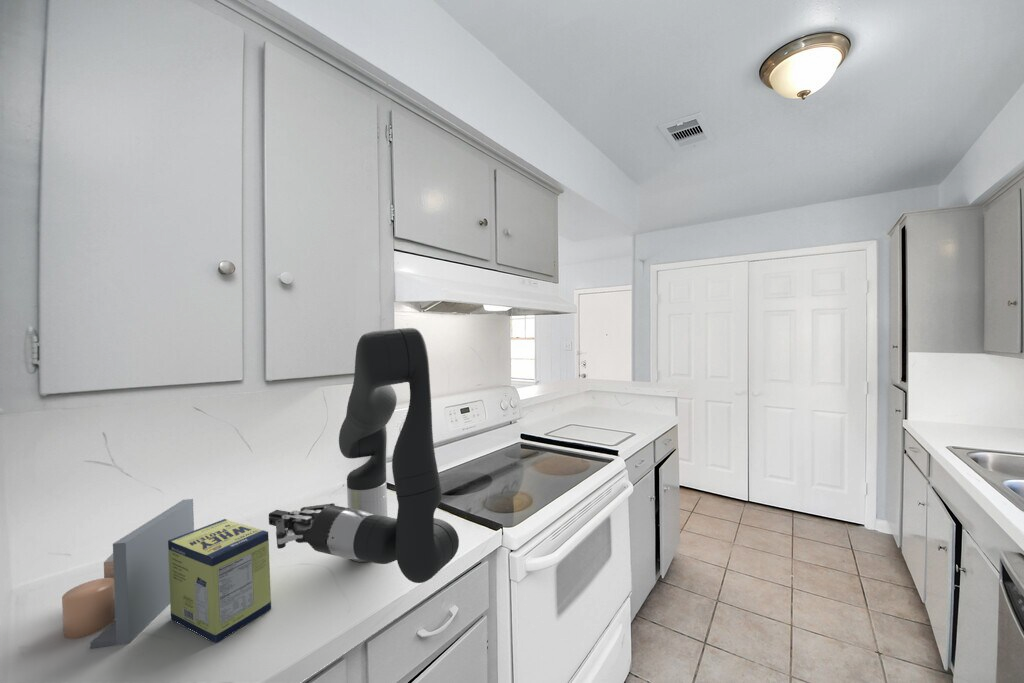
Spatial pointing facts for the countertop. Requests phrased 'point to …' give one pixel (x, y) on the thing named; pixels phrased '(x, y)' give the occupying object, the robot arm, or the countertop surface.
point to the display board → (144, 573)
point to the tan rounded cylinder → (88, 608)
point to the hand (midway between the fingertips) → (272, 516)
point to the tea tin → (109, 568)
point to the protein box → (219, 578)
